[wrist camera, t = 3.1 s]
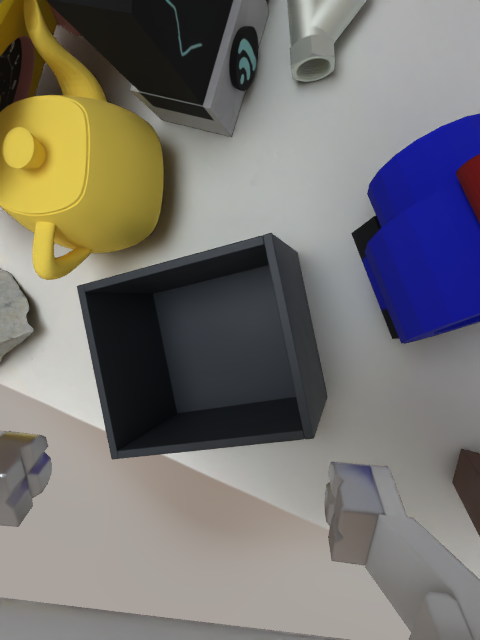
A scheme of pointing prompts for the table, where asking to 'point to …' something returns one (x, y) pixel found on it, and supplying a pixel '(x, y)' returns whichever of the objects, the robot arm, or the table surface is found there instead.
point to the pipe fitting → (317, 34)
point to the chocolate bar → (469, 484)
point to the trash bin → (205, 351)
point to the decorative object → (178, 52)
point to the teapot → (77, 164)
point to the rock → (12, 314)
